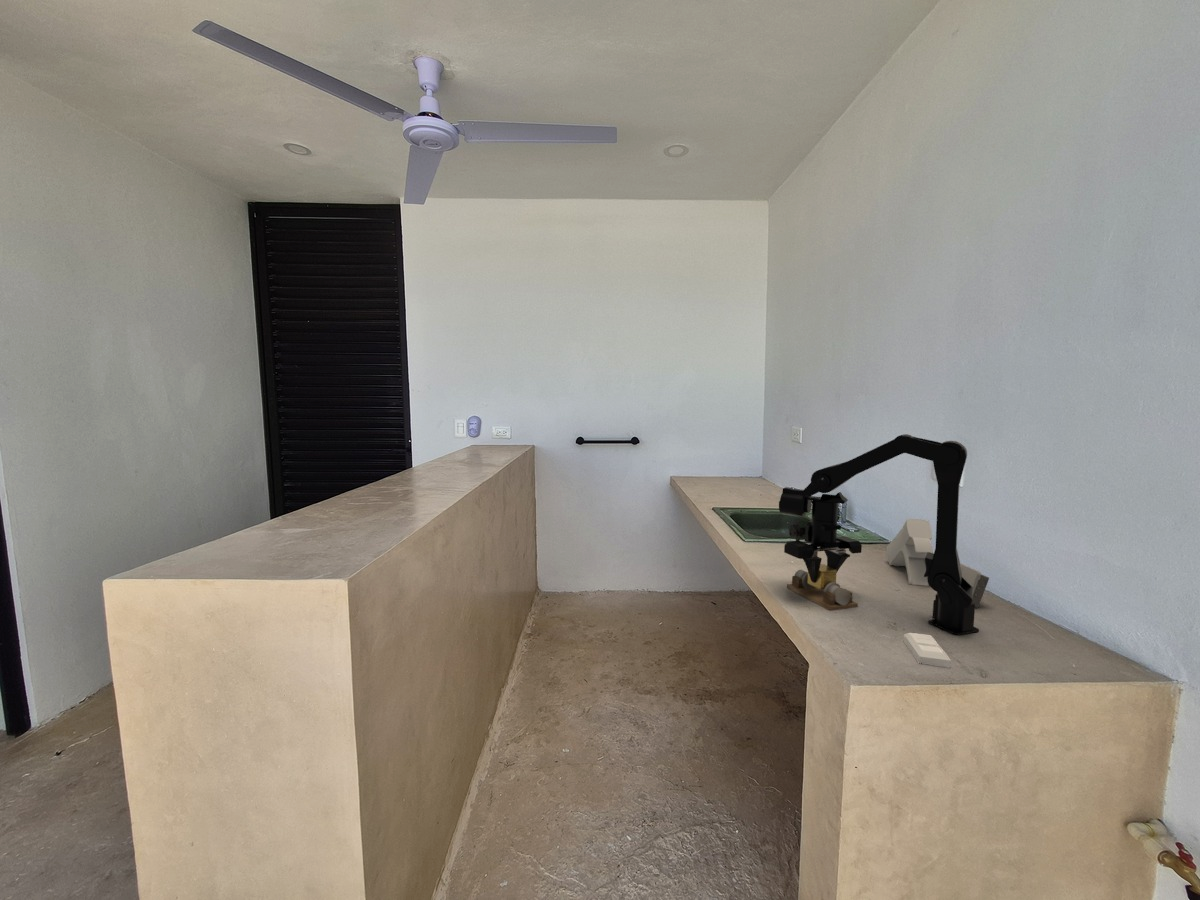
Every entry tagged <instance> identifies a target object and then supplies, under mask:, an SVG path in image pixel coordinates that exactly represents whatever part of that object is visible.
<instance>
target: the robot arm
mask: <svg viewBox="0 0 1200 900" xmlns="http://www.w3.org/2000/svg"><path fill="white" fill-rule="evenodd" d="M902 454H908V455H911V456H914V457H916V458H917V457H918V458H920V459H924V460H928V461H930V462H933V469H934V473H935V478H936V483H937V498H936V499H937V500H936V501H937V502H936V503H937V504H936V523H935V524H936V527H935V528H936V529H935V530H936V531H935V549H934V551H933V553H930V552H927V554H926V557H925V564H926V571H925V574H924V577H927V576H928V584H929V586H928V587H930V588H931V589H932V590H933V591H935V592H937V593H936V594H935V596H934V597H935V599H934V600H933V604H932V618H931V619H928V624H931V625H934V626H936V627H938V628H940V629H943V630H945V631H947V632H949V633H952V634H954V635H956V636H961V635H964V634H965V635H966V634H972V633H978V632H979V631H980V629H979V628H978V627H976V626H975V624H974V623H975V613H976V612H975V610H976V607H975V605H976V604H975V603H972V599H973V587H972V586H971V585H970V584H969V583H968V582H967V581H966V580H965V579H964V578H963V577H962V572H961V566H960V563H961V560H960V557H959V552H958V548H957V547H958V545H957V544H958V524H959V502H960V501H959V496H960V484H961V480H962V476H963V472H964V469H965V465H966V461H967V458H968V451H967V448H966V447H965V445H964V444H962V443H960V442H958V441H957V440H946V441H943V442H939V441H935V440H931V439H926V438H921V437H916V436H912V435H911V434H906V433H905V434H900V435H898V436H896V437H895V438H893V439H892V440H890V441H888V442H886V443H883V444H882V445H879V446H876V447H875V448H872V449H871V450H869V451H867V452H864V453H862V454H860V455H858V456H856V457H854V458H852V459H849V460H847V461H844V462H840V463H837V464H832V465H829V466H826V467H823V468H819V469H818V470H816V471H814V472H813V473H812V474H811V477H810V483H808V485H807V486H805V488H804V489H801V488H800V489H799V488H793V487H788V486H787V487H783V488H782V492H781V495H780V498H779V501H778V510H779V513H780V514H784V515H792V516H798V517H806V514H810V512H811V520H808V521H807V522H806V526H804V527H801V526H800V524H798V523H797V524H791V525H790V524H789V529H788V534H789V537H790V538H795V539H794V541H793V540H792V541H787V542H785V544H784V546H783V547H784V549H783V550H784V551H783V553H785V554H788V556H791V557H794V558H796V559H800V560H803V562H804V564H805V567H806V570H807V572H808V573H809V576H810V579H811V581H812V582H813V583H816V580H817V577H818V573H819V568H820V564H822V557H819V556H818V555H819V552H824V554H825V556H826V566H829V567H831V568H834V569H836V574H837V573H838V572H839V570H840V568H841V567H842V566H843V564H844V563H845V561H846V560H847V559H848V558H850V557H851V554H853V555H854V554H861V553H862V550H863V549H862V547H863V546H862V543H861V542H860V540H857V539H856V538H855V539H854V538H851V537H848V536H837V532H838V530H842V529H841V528H842V525H841V524H838V514H839V513H838V511H839V504H846V503H847V502H848V498H847V497H846V496H844V495H843V494H842V492H841V491H840V492H837V493H836V494H830V492H832V491H834V490H836V489H838V488H839V487H841V486H842V485H843V484H845V483H846V482H848V481H849V480H850V479H852V478H853V477H855V476H857V475H858V474H860V473H864V472H865V471H867V470H869V469H872V468H874V467H876V466H878V465H880V464H882V463H885V462H887V461H889V460H891V459H893V458H895V457H898V456H900V455H902ZM818 493H821V496H815V495H816V494H818ZM803 540H804V542H803ZM846 549H848V551H849V552H850V553H851V554H849V553H847V550H846Z"/></svg>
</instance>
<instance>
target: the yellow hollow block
mask: <svg viewBox="0 0 1200 900" xmlns="http://www.w3.org/2000/svg"><path fill="white" fill-rule="evenodd" d="M831 582H835V583H837V573H836V569H834V568H831V567H829V566H827V564H824V563H821V564H820V568H819V573H818V577H817V580H816V583H813V582H812V581H811V579H810V576H809V573H808V582H807V583H808V584H810V585H812V586H814V587H816V588H818V589H820V590H821V589H825V587H826V586H827V584H829V583H831Z"/></svg>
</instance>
